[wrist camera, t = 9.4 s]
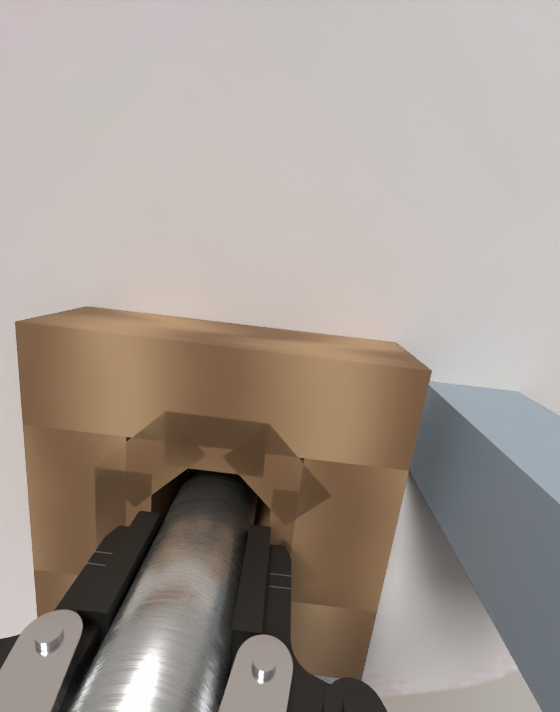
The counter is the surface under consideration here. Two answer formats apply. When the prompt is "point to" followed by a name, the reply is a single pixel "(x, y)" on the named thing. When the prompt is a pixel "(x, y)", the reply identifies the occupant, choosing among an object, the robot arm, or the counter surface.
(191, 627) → the round peg
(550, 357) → the counter surface
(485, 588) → the square peg
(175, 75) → the counter surface
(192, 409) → the bore block
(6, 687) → the robot arm
